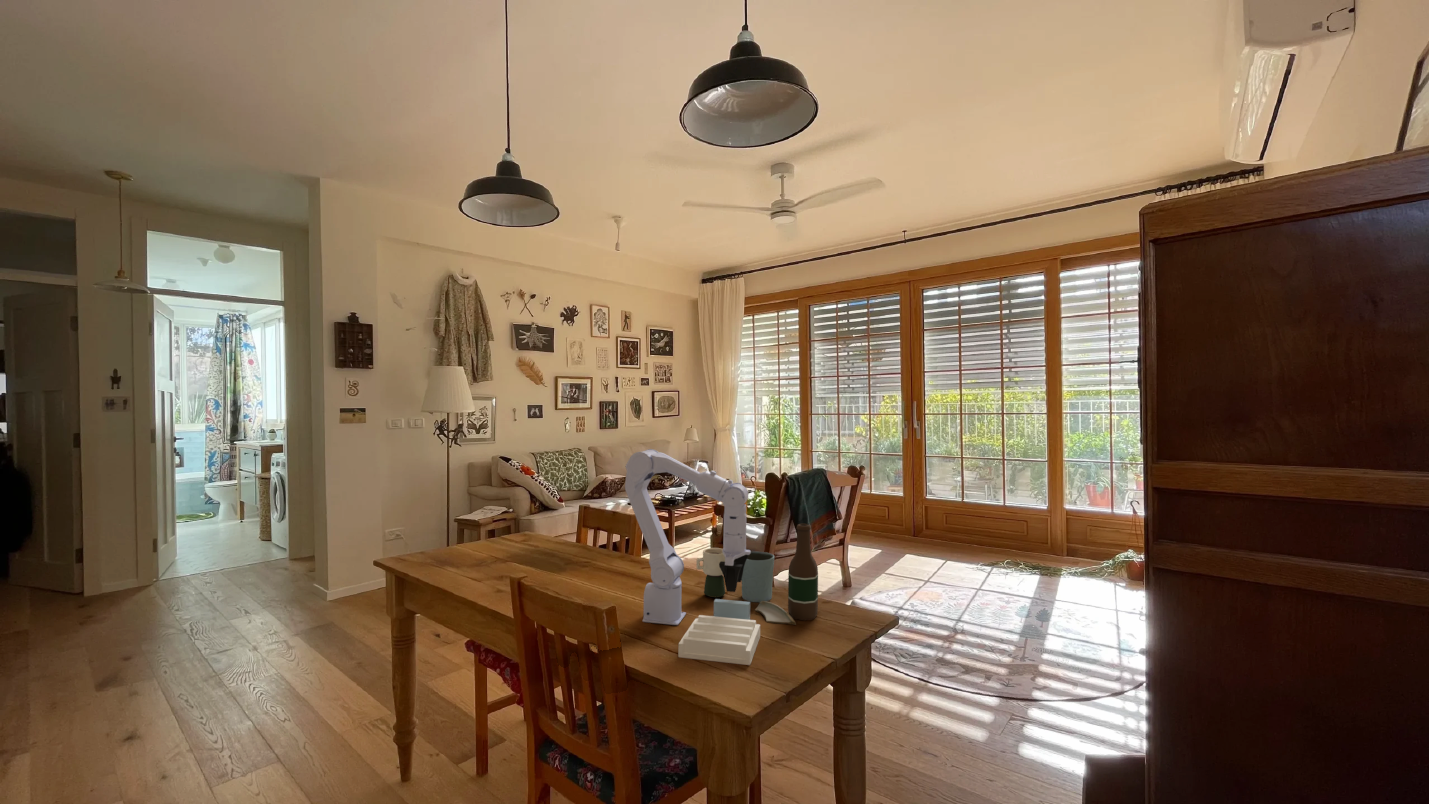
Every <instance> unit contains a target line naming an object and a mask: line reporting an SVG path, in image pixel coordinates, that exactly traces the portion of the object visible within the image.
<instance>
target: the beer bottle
mask: <svg viewBox="0 0 1429 804" xmlns="http://www.w3.org/2000/svg"><path fill="white" fill-rule="evenodd" d="M795 529H796V530H797V534H796V548H795V553H794V556H793V557H792V559H791V560H790V564H789V566H788V573H787V574H788V576H787V578H788V581H787V583H788V584H787V585H788V586H787V589H788V591H787V599H788V601H787V603H788V604H787V610H788V611H787V613H788V614H789V615H790V616H791V617H792V618H793V620H800V621H812V620H815V618H816V617H817V615H818V610H819V607H818V605H819V603H818V601H819V571H818V570H819V569H818V567H819V566H818V565H817V564H818V563H817V562H816V560H815V558H814V557H813V554H812V548H811V532H810V531H811V529H812V528H811V525H810V524H807V523H799V524H797V525H796V528H795Z"/></svg>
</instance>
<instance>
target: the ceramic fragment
mask: <svg viewBox="0 0 1429 804" xmlns="http://www.w3.org/2000/svg"><path fill="white" fill-rule="evenodd" d="M754 611H756V612H757V613H758V614H759V613H760V614H761V615H763V617H764V619H765V621H766V623H769V624H785V625H786V624H787V625H795V626H796V625H797V622H796V621H795V619H794V618H793V617H791V616H790V615H789V613H788V611H786V610H785V609H784V608H783V607H781V606H779V605H778V604H776V603H773V602H771V601H761V602H758V605H757V607H756V608H755V609H754Z"/></svg>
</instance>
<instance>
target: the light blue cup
mask: <svg viewBox="0 0 1429 804" xmlns="http://www.w3.org/2000/svg"><path fill="white" fill-rule="evenodd" d="M774 567H775V555H774V554H773V553H770V552H767V551H765V552H764V551H751V553H750V554H749V556H748V558H747V560H746V562H745V566H744V570H743V575H742V580H741V597H742V599H743V600H744V601H746V602H750V603H760V602H761V601H767V602H770V601H771V599H772V598H773V580H774V579H773V576H774Z"/></svg>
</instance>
